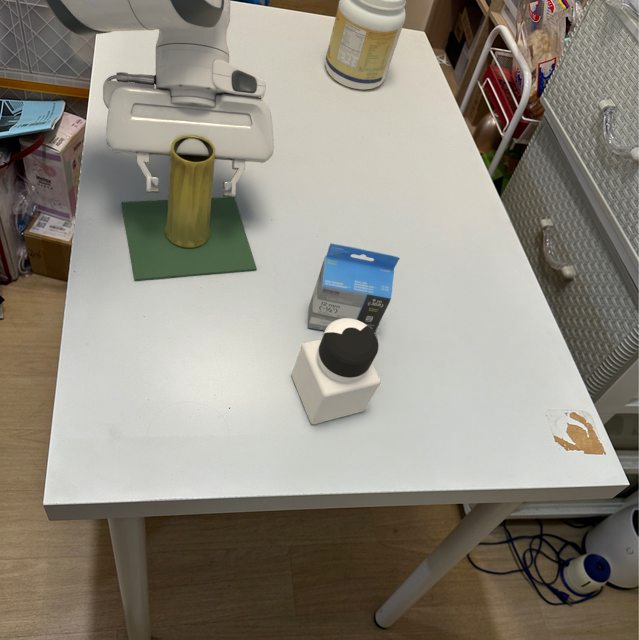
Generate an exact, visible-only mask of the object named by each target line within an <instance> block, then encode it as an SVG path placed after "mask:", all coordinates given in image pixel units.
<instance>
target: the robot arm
mask: <svg viewBox="0 0 639 640" xmlns="http://www.w3.org/2000/svg"><path fill="white" fill-rule="evenodd" d="M43 1H44V3H45V5H46V6H47V8H48V10H49V11H50V12H51V14H52V15H53V16H54V17H55V18H56V19H57V20H58V22H59V23H60V24H61V25H63V26H64V27H65V28H66V29H67V30H69V31H70V32H71V33H74V34H76V35H79V36H82V37H83V36H84V37H85V36H94V35H101V34H107V33H112V32H113V33H114V32H137V31H138V32H141V31H155V30H157V31H158V36H157V40H156V43H155V74H154V75H153V74H143V73H128V72H124V71H117V72H116V73H115V74H114V75H109V76H108V77H107V78H106V79H105V80H104V82H103V86H102V100H103V103H104V105H105V107H106V108H107V109H108V110H107V119H106V131H105V142H106V145H107V147H108V148H109V149H110V150H111V151H112V152H114V153H120V154H121V153H122V154H134V155H136V162H137V165H138V167H139V168H140V170H141V172H142V174H143V175H144V177H145V178H146V193H157V194H158V193H159V192H160V191H159V190H160V187H159V185H160V177H156V176H155V177H154V176H152V174H151V172H150V171H149V168H148V167H147V165H148V164H149V163H150V156H162V157H170V155H171V145H172V143H173V141H174V140H175V139H177V138H179V137H181V136H186V135H195V136H200V137H203V138H205V139H207V140H209V141H210V142H211V143H212V144H213V146H214V147H215V160H220V161H231V169H232V170H235V172H234V173H233V175H232V177H231V179H230V180H229V181H223V182H222V189H223V190H222V197H236V193H237V192H236V191H237V183H238V181H239V179H240V178H241V176H242V175H243V173H244V172H245V170H246V162H247V163H260V164H261V163H262V164H263V163H266V162H268V161H269V160H271V158H272V157H273V155H274V148H275V146H274V145H275V144H274V143H275V142H274V125H273V118H272V112H271V109H270V107H269V106H268V104H267V103H266V102H265V101H264V100H263V99H264V97H265V94H266V91H267V90H266V88H267V85H266V81H265V79H263V78H262V77H260V76H258V75H256V74H253V73H251V72H248V71H246V70H244V69H242V68H239V67H238V66H236V65H234V64H232V63H230V50H229V46H228V41H227V39H228V38H227V36H228V29H229V26H230V23H231V0H43ZM115 79H116V80H115ZM176 154H177V155H191V156H205V157H208V156H209V153H208V149H207V148H206V146H205V145H204V144H203V143H202V142H201V141H200V140H198V139H195V138H188V139H186V140H184V141H183V142H182V143H181V144H180V145H179V147H178V149H177V151H176ZM146 164H147V165H146Z"/></svg>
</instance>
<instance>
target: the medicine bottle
mask: <svg viewBox="0 0 639 640" xmlns="http://www.w3.org/2000/svg"><path fill="white" fill-rule="evenodd" d="M379 346H380V345H379V339H378V337H377V335H376V332H375V333H374V332H373V331H372V330H371V328H369V327H368V326H367V325H366V324H364V323H363V322H361V321H358V320H355V319H349V318H343V319H338V320H335V321H333V322H332V323H330V324H329V325H328V327H327V328H326V330H324V332H323V335H322V337H321V338H320V339H316V340H315V339H314V340H310V341H305V342H303V343H302V344H301V346H300V349H299V353H298V355H297V357H296V360H295V363H294V366H293V369H292V371H291V379H292V380H293V381H292V382H293V384H294V385H295V388H296V390H297V393H298V396H299V398H300V401H301V403H302V405H303V408H304V410H305V413H306V416H307V418H308V420H309V423H310V424H311V425H318V424H320V423H325V422H328V421H332V420H336V419H340V418H343V417H348V416H351V415H355V414H359V413H362V412H365V410H366V408H367V407H368V405H369V403H370V402H371V400H372V398H373V396H374V395H375V393H376V391H377V390H378V388H379V386H380V384H381V382H382V381H381V378H380V375H379V374H378V372H377V369H376V368H375V365H374V364H373V362H374V360H375V358H376V356H377V354H378V352H379Z"/></svg>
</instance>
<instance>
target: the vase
mask: <svg viewBox="0 0 639 640" xmlns="http://www.w3.org/2000/svg"><path fill="white" fill-rule="evenodd" d="M188 138H195V139H198V140H200V141H201V142H202V143H203V144H204V145H205V146H206V148H207V149H208V153H209V156H208V157H205V156H191V155H177V154H176V151H177V149H178V147H179V145H180V144H181V143H182V142H183V141H184V140H186V139H188ZM169 158H170V159H169V175H168V176H169V177H168V193H167V194H168V195H167V200H168V214H167V223H166V226H165V234H166V236H167V238H168V239H169V240H170V241H171V242H172V243H173V244H175V245H177V246H180V247H184V248H195V247H199V246H201V245H203V244H204V243H206V242H207V240H208V239H209V237H210V227H209V225H210V211H211V198H212V194H213V179H214V170H215V161H216V159H215V147H214V146H213V144H212V143H211V142H210V141H209V140H207V139H205V138H203V137H200V136H195V135H186V136H181V137H179V138H177V139H175V140H174V141H173V143H172V145H171V155H170V156H169Z"/></svg>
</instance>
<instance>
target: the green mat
mask: <svg viewBox="0 0 639 640" xmlns="http://www.w3.org/2000/svg"><path fill="white" fill-rule="evenodd" d="M235 197H236V196H235ZM235 197H227V196H222V197H211V211H210V225H209V227H210V237H209V239H208V240H207V242H206V243H204V244H203V245H201V246H199V247H195V248H184V247H180V246H177V245H175V244H173V243H172V242H171V241H170V240H169V239H168V238H167V236H166V234H165V226H166V223H167V214H168V199H155V200H130V201H121V203H120V204H121V209H122V215H123V221H124V228H125V233H126V240H127V246H128V251H129V256H130V263H131V268H132V274H133V279H134V282H139V281H150V280H163V279H173V278H185V277H196V276H197V277H198V276H207V275H208V276H209V275H220V274H231V273H243V272H254V271H257V270H258V268H257V265H256V262H255V258H254V255H253V251H252V249H251V246H250V245H251V244H250V243H249V239H248V236H247V233H246V230H245V226H244V223H243V220H242V217H241V213H240V210H239V207H238V204H237V201H236V198H235Z"/></svg>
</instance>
